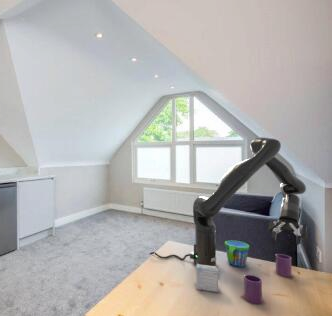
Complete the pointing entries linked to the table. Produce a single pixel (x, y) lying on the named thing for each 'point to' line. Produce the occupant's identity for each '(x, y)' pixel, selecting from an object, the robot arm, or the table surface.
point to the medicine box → (207, 277)
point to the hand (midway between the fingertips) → (285, 242)
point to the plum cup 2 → (283, 265)
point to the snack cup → (237, 252)
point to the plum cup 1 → (253, 289)
